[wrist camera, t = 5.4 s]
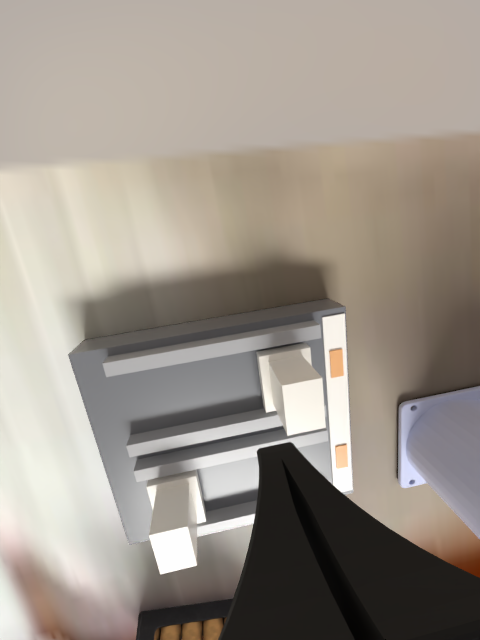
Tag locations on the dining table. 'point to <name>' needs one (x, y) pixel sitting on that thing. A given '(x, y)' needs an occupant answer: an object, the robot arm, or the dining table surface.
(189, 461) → the switch bank
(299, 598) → the robot arm
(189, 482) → the tab far
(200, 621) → the ammunition clip
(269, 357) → the tab near
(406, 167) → the dining table surface
